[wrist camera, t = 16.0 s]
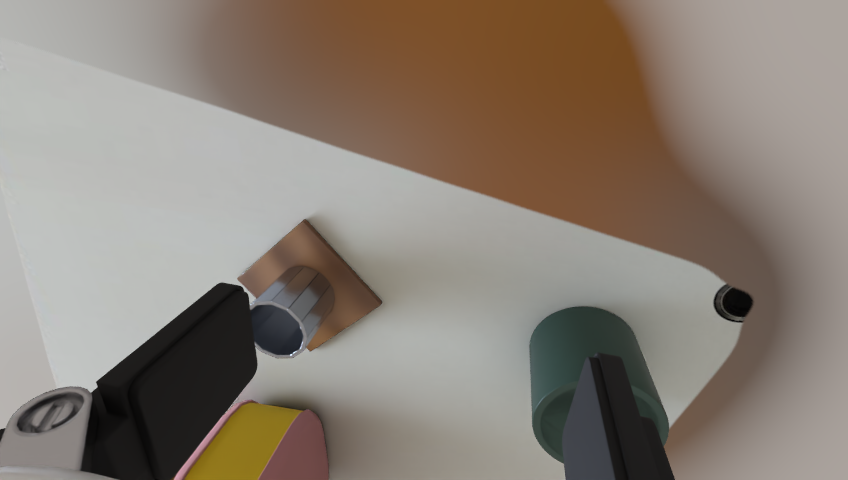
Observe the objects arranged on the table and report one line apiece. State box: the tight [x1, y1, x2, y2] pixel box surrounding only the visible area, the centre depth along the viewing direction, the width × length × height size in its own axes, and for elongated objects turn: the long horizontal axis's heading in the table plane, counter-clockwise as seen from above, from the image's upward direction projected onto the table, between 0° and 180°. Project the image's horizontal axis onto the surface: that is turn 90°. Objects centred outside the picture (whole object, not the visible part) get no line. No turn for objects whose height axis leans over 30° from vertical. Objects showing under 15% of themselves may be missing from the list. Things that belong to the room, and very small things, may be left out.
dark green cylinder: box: [530, 307, 669, 463], centre depth 39 cm, size 10×10×10 cm
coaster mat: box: [237, 219, 382, 351], centre depth 47 cm, size 12×12×1 cm
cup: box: [250, 266, 335, 358], centre depth 43 cm, size 7×7×7 cm
